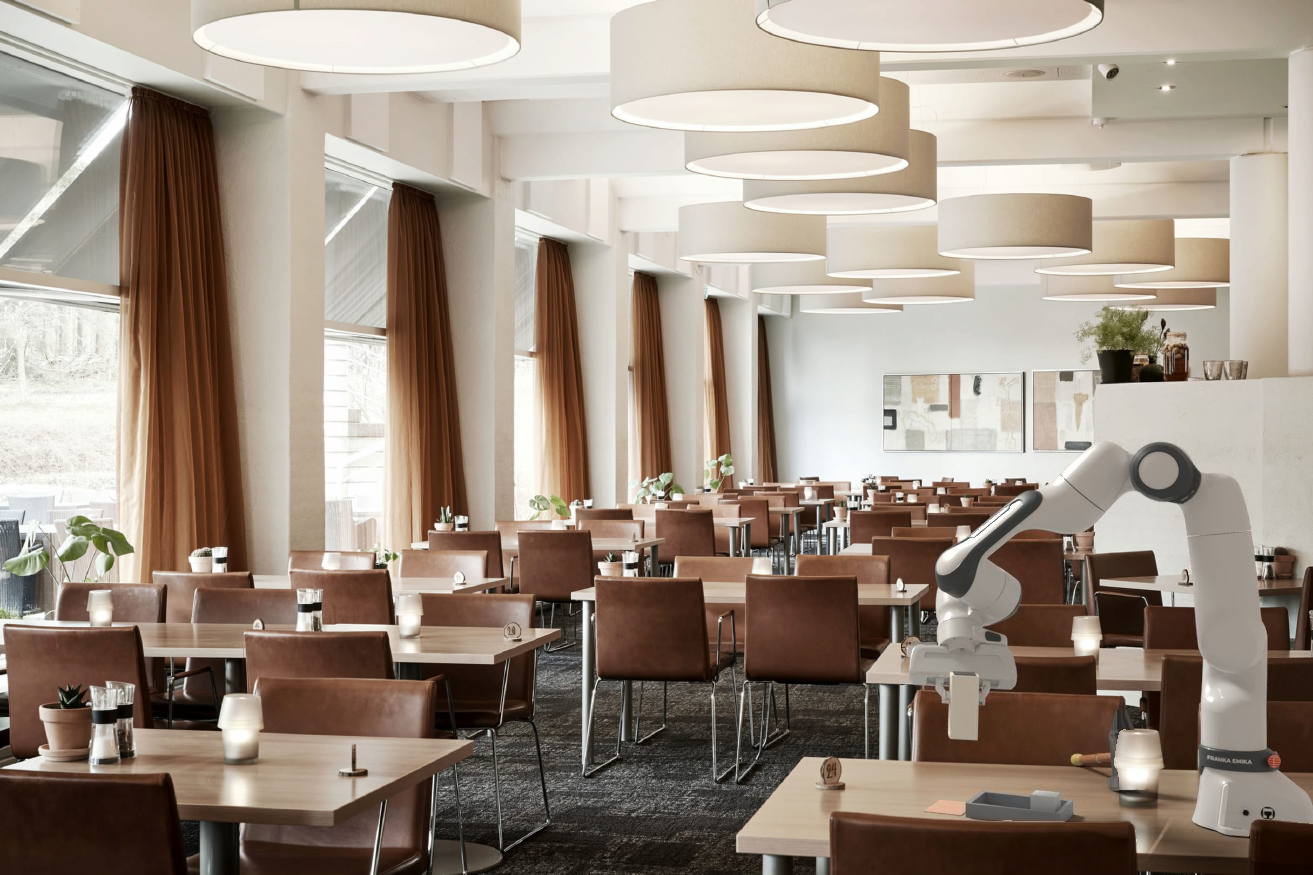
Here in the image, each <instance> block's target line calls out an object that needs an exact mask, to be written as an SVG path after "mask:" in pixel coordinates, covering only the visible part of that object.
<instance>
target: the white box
mask: <svg viewBox="0 0 1313 875" xmlns="http://www.w3.org/2000/svg"><path fill="white" fill-rule="evenodd" d="M948 687H949V690H948V691H950V703H948V718H947V720H948V723H947V726H948V728H947V730H948V731H947V734H948V735H947V736H948V738H949V739H950V740H963V741H964V740H967V741H978V738H979V706H980V705H979V693H980V688H979V676H978V674H977V673H974V672H961V671H953V672H950V680H949V686H948Z"/></svg>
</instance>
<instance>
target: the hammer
mask: <svg viewBox="0 0 1313 875" xmlns="http://www.w3.org/2000/svg"><path fill="white" fill-rule="evenodd" d="M1129 714H1130V713H1129V712H1128V710H1127V709H1116V710H1115V712H1114V717H1113V720H1112V724H1111V728H1110V731H1109V733H1108V742H1109V743H1108V744H1109V751H1110V752H1105V753H1103V752H1102V753H1101V752H1098V753H1094V754H1084V755H1083V754H1081V753H1074V754H1073V755H1071V758H1070V762H1071V764H1072V765H1073V766H1075V767H1077V766H1078V767H1079V766H1081V767H1082V766H1083V765H1084V764H1092V763H1099V764H1102V763H1103V762H1105V763H1106V762H1110V763H1111V775H1112V776H1110V777H1108V778H1107V779H1106V782H1107V788H1108V789H1109V790H1110V791H1112V792H1117V791H1119V777H1118V772H1117V769H1116V768H1115V766H1114V758H1115V751H1116V744H1117V739H1118V735H1119V732H1120V731H1121V730H1123V729H1126V730H1135V731H1136V729H1135V726H1134V724H1133V721H1132V720H1131V717H1130V715H1129Z"/></svg>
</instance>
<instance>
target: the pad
mask: <svg viewBox="0 0 1313 875" xmlns="http://www.w3.org/2000/svg"><path fill="white" fill-rule="evenodd" d="M923 813H932V814H941V815H951V816H957V817H958V816H959V817H961V816H963V815H964V814H966V801H958V800H956V801H955V800H947V799H939V800H937V801H935V803H933V804H932V805H930V806H928V807H927V808H926V809H925V810H923Z"/></svg>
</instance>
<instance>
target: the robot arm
mask: <svg viewBox="0 0 1313 875" xmlns="http://www.w3.org/2000/svg"><path fill="white" fill-rule="evenodd" d="M1130 492H1136V493H1137V492H1138V493H1140V494H1141V495H1143V496H1144V497H1146V498H1147V499H1149V500H1151V501H1154V502H1158V503H1171V504H1172V503H1173V504H1176V505H1178V506H1179V507H1180V509H1181V512H1182V513H1183V517H1184V522H1185V530H1186V536H1187V537H1186V538H1187V545H1188V551H1189V552H1188V553H1189V562H1190V568H1191V577H1192V589H1193V602H1194V603H1193V604H1194V615H1195V616H1194V617H1195V628H1196V638H1197V647H1198V649H1199V652H1200V655H1201V656H1202V680H1201V681H1202V682H1201V693H1200V694H1201V695H1200V728H1201V729H1200V739H1201V740H1200V743H1199V744H1198V750H1197V770H1198V774H1199V775H1200V776H1199V785H1198V786H1199V787H1198V794H1197V800H1196V805H1195V809H1194V812H1193V816H1192V818H1191V821H1192V822H1193V823H1194V824H1196V825H1198V826H1200V827H1202V828H1203V827H1204V828H1207V829H1211V830H1214V831H1217V832H1218V833H1220V834H1224V835H1227V836H1239V837H1249V830H1250V825H1251V823H1252V821H1254V820H1256V819H1270V820H1281V821H1292V822H1298V823H1309V824H1313V803H1312V799H1311V798H1310V796H1309V795H1308V793H1307V792H1306V791H1305V790H1304V789H1303V788H1301V786H1299V785H1297V784H1296V783H1295V782H1294V781H1293V780H1291V779H1290V778H1288V776H1286V775H1285V774H1284V773H1282V772H1281V771H1280V770H1279V769H1280V765H1281V758H1280V755H1279V754H1278V753H1279V752H1277V751H1276V750H1275V751H1273V750H1272V749H1270V748H1269V747H1267V743H1268V742H1267V739H1268V738H1267V735H1268V734H1267V730H1268V728H1267V725H1268V724H1267V698H1268V697H1267V695H1268V694H1267V692H1268V691H1267V690H1268V686H1267V684H1268V633H1267V630H1266V629H1267V628H1266V626H1265V624H1264V622H1263V621H1262V614H1261V613H1262V612H1261V604H1260V603H1261V602H1260V592H1259V591H1260V590H1259V584H1258V581H1259V580H1258V572H1257V571H1258V570H1257V565H1256V564H1257V563H1256V557H1255V556H1256V555H1255V550H1254V542H1253V536H1252V526H1251V521H1250V516H1249V511H1248V508H1247V504H1246V500H1245V497H1244V493H1243V491H1242V489H1241V486H1240V484H1239V482H1238V480H1236V479H1235V478H1234V477H1232V476H1231V475H1229V474H1224V473H1220V472H1209V473H1207V472H1206V473H1205V472H1201V471H1200V470H1199V469H1198V468H1197V466H1196V465H1195V463H1194V461H1193V459H1192V458H1191V456H1190V455H1189V453H1188V452H1187V451H1186V450H1185V449H1184V448H1182V447H1181V446H1180V445H1179V446H1178V444H1175V443H1172V442H1168V441H1155V442H1151V443H1148V444H1145V445H1143V446H1142V447H1140V448H1139V449H1138V450H1137V451H1136V452H1129V451H1127V450H1126V449H1125V448H1123V446H1120V445H1119V444H1117V443H1114V442H1111V441H1106V440H1101V441H1097V442H1095V443H1093V444H1092V445H1091V446H1089V447H1088V448H1086V450H1084V451H1083V452H1082V453H1080V454H1079V455H1078V456H1077V457H1076V458H1075V459H1073V460H1072V461H1071V463H1069V464H1068V465H1067V466H1066V467H1065V468H1064V469H1063V471H1061V473H1060V474H1059V475H1058V476H1057V477H1055V479H1053V480H1052V481H1050V482H1049V483H1048V484H1046V485H1044V486H1043V487H1040V488H1038V489H1035V490H1026V491H1023V492H1021V493H1019V494H1018V495H1017V496H1015V497H1014V498H1013V499H1011V500H1010V501H1008V502H1007V503H1006V504H1005V505H1004V506H1003V507H1001V508H1000V509H999V510H998V511H996V512H995V513H994V514H993V515H992V516H991V517H990V518H988V519H987V520H986V521H985V522H984V523H982V524H981V525H980V526H979V527H977V528H976V529H975V530H974V531H972V532H971V533H970V534H969V535H968V536H966V537H965V538H963V539H962V540H960V541H958V542H957V543H955V544H953V545H952V546H949V547H948V548H947V549H946V550H945V551H943V552H942V553H941V554H940V556H939V557H938V558H937V561H936V563H935V568H934V574H935V580H936V585H937V590H936V596H935V614H936V615H935V616H936V620H937V622H938V625H937V628H936V639H937V640H936V642H935V641H932V642H931V641H927V642H926V641H925V642H923V641H914V643H910V644H908V645H907V646H906V658H907V659H908V660H909V667H908V681H909V682H910V683H911V685H914V686H933V687H935V691H936V692H937V694H939V695H940V697H941V703H942V704H949V703H950V691H949V690H946V689H945V687H949V680H950V672H953V671H961V672H974V673H977V674H978V676H979V689H981V692H979V705H978V706H985V705H986V698H987V696H988V695H989V693H990V690H991V689H995V690H1012V689H1013V688H1014V687H1016V684H1017V681H1018V680H1017V679H1018V672H1017V666H1016V663H1015V661H1016V660H1015V658H1014V654H1013V653H1012V650H1010V648H1008V638H1007V636H1006V635H1005V634H1003V633H999V632H995V631H992V630H990V629H986V628H984V627H989V626H992V625H995V624H998V623H1000V622H1001V623H1002V621H1005V620H1007V619H1009V618H1011V617H1012V616H1014V615H1015V614H1016V613H1017V611H1018V610H1019V608H1020V605H1021V602H1022V597H1023V589H1022V584H1021V582H1020V581H1019V580H1018V579H1017V578H1015V577H1014V576H1013V575H1012V574H1010V573H1009V572H1008V571H1006V570H1004V569H1003V568H1002V567H1000V566H998V565H996V564H995V563H993V562H992V561H991V560H989V559H988V558H989V557H990V556H991V555H992V554H994V552H996V551H997V550H998V549H1000V548H1001V547H1002V546H1003V545H1004V544H1006V543H1007V542H1008V541H1010V540H1011V539H1012V538H1013V537H1015V535H1017V534H1018V533H1021V532H1024V531H1027V530H1043V531H1048V532H1053V533H1056V534H1062V535H1063V534H1064V535H1074V534H1075V535H1077V534H1081V533H1084V532H1086V531H1087V530H1089V529H1090V528H1092V527H1093V526H1094V525H1095V524H1096V523H1097V522H1098V521H1099V520H1100V519H1101V518H1102V517H1103V516H1104V515H1105V514H1106V512H1108V510H1109V509H1110V508H1111V507H1112V506H1113V505H1114V504H1115V502H1117V501H1118V500H1119V499H1120V498H1121V497H1122V496H1124V495H1125V494H1127V493H1130Z"/></svg>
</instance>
